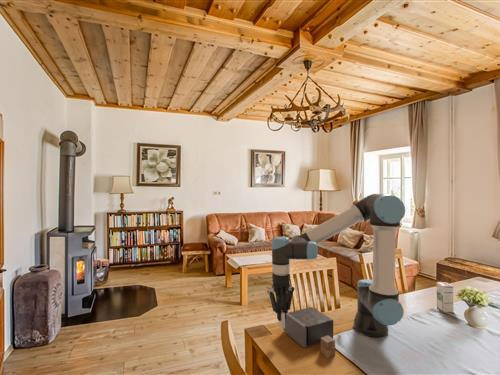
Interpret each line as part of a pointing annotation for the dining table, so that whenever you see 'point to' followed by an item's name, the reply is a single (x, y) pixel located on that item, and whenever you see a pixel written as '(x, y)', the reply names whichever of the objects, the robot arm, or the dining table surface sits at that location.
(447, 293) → the syrup box
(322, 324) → the housing
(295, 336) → the grey drawer
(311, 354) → the dining table surface
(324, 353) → the pedestal
